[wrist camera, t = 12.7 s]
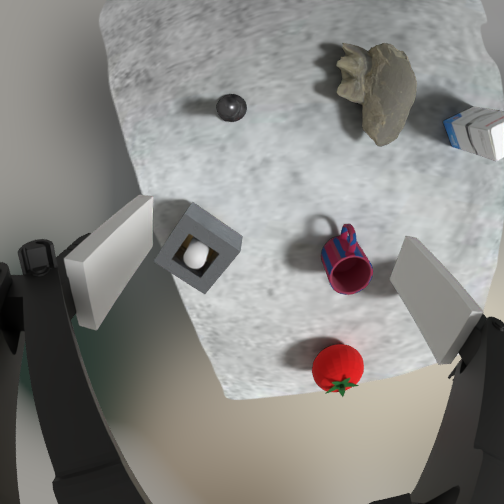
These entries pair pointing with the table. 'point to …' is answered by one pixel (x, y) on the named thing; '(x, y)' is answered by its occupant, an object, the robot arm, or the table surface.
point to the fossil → (378, 88)
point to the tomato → (337, 368)
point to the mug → (346, 263)
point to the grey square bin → (211, 235)
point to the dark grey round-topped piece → (231, 108)
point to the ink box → (478, 132)
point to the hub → (196, 252)
